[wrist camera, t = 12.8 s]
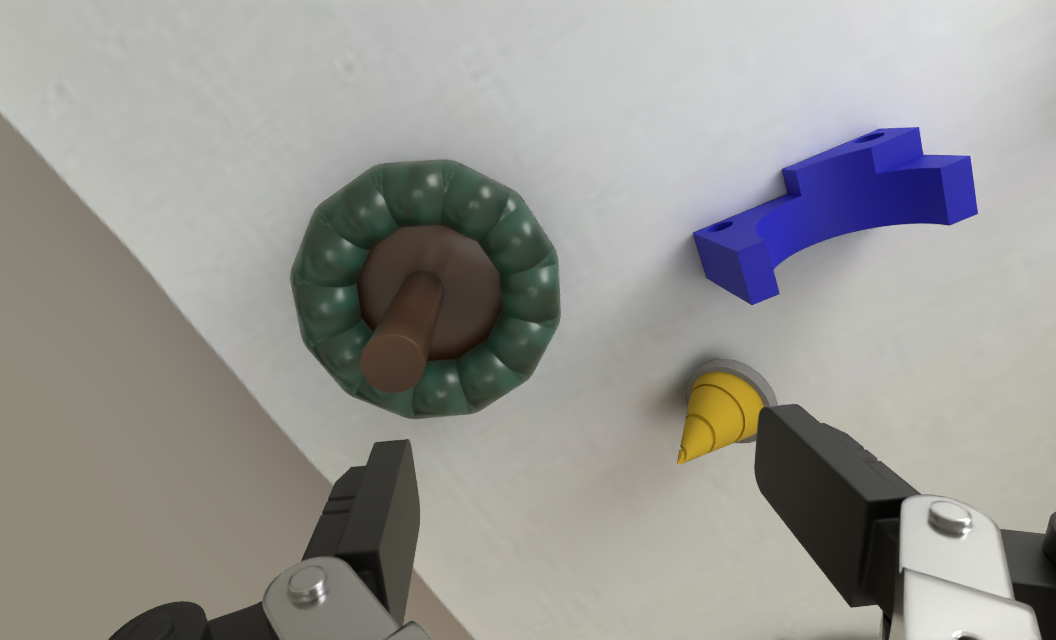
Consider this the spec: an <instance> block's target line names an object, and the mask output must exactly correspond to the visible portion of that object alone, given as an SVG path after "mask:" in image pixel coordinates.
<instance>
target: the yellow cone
mask: <svg viewBox="0 0 1056 640" xmlns="http://www.w3.org/2000/svg"><path fill="white" fill-rule="evenodd" d="M686 399H687V403H688V411H687V416H686V421H685V425H684V430H683V435H682V440H681V445H680V446H681V448H682V450H679V455H678V461H677V463H678V464H682V463H685V462H687V461H690V460H692V459H695V458H697V457H700V456H702V455H705V454H707V453H710V452H712V451H715V450H717V449H720V448H722V447H725V446H727V445H730V444H732V443H750V442H753V441H756V439H757V426H758V416H759V412H760V410H761V409H762V408H763V407H769V406H777V400H776V397H775V394H774V392H773V390H772V388H771V386H770V385H769V384H768V382H767V381H766V380H765V379H764V378H763V377H762V376H761V375H760V374H759V373H758V372H757V371H755V370H754V369H752V368H751V367H749V366H747V365H745V364H743V363H740V362H737V361H734V360H728V359H718V358H717V359H716V360H713V361H709V362H707V363H705V364H704V365H702V366H701V367H700V368H699V369H698V370H697V371H696V372H695V373H694V374H693V375H692V376H691V378H690V379H689V381H688V384H687V387H686Z"/></svg>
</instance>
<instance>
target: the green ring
mask: <svg viewBox="0 0 1056 640" xmlns="http://www.w3.org/2000/svg"><path fill="white" fill-rule="evenodd" d="M428 225H443V226H445V227H447V228H449V229H452V230H454V231H456V232H458V233H460V234H462V235H464V236H466V237H468V238H470V239H473V240H475V241H477V242H478V243H479V245H480V246H481V248H482V249H483V251H484V252H485V253H486V255H487V256H488V258H489V259H490V261H491V262H492V263H493V265H494V266H495V268H496V269H497V271H498V272H499V277H500V290H501V303H502V309H501V311H500V313H499V315H498V317H497V319H496V321H495V323H494V325H493V327H492V329H491V331H490V333H489V335H488V337H487V339H486V340H484V341H483V342H481V343H480V344H478V345H477V346H475V347H474V348H472V349H471V350H469V351H468V352H466V353H465V354H463V355H462V356H460V357H459V358H457V359H445V360H433V361H427V362H426V366H425V370H424V373H423V376H422V378H421V380H420V381H419V382H418V383H417V384H416V385H415V386H414V387H413V388H411V389H409V390H407V391H404V392H400V393H388V392H384V391H381V390H379V389H377V388H375V387H373V386H372V385H371V384H370V383H369V382H368V381H367V380H366V378H365V377H364V375H363V373H362V370H361V365H360V359H361V354H362V352H363V350H364V348H365V346H366V344H367V343H368V341H369V339H370V337H371V336H372V334H373V331H372V330H371V329H370V327H369V326H368V325H367V324H366V322H365V321H364V320H363V319H362V315H361V308H360V302H359V296H358V289H357V283H356V282H357V280H358V277H359V275H360V272H361V270H362V268H363V265H364V263H365V261H366V258H367V256H368V254H369V251H370V249H371V248H373V247H374V246H375V245H377V244H378V243H380V242H381V241H383V240H384V239H385V238H387V237H388V236H390V235H391V234H393V233H394V232H396V231H397V230H398V229H400V228H401V227H414V226H428ZM290 280H291V286H292V291H293V296H294V301H295V306H296V311H297V317H298V322H299V327H300V332H301V337H302V340H303V342H304V344H305V346H306V347H307V349H308V350H309V351H310V352H311V353H312V354H313V356H314V357H315V358H316V359H317V360H318V361H319V362H320V364H321V365H322V366H323V367H324V368H325V369H326V371H327V372H328V373H329V374H330V375H331V376H332V377H333V379H334V380H335V381H336V382H337V383H338V384H339V386H340V387H341V388H342V389H343V390H344V391H345V392H346V393H347V394H349V395H350V396H352V397H354V398H357V399H359V400H362V401H364V402H367V403H369V404H372V405H374V406H377V407H379V408H382V409H384V410H387V411H389V412H392V413H395V414H397V415H400V416H402V417H405V418H409V419H422V418H433V417H444V416H456V415H467V414H473V413H476V412H478V411H480V410H482V409H484V408H485V407H487V406H488V405H490V404H491V403H493V402H495V401H496V400H498V399H499V398H501V397H502V396H504V395H505V394H507V393H509V392H510V391H512V390H513V389H515V388H516V387H518V386H519V385H521V384H523V383H524V382H525V381H527V380H528V379H529V378H530V377H531V375H532V374H533V372H534V370H535V369H536V367H537V365H538V363H539V361H540V359H541V357H542V355H543V354H544V352H545V350H546V348H547V346H548V344H549V342H550V340H551V339H552V337H553V335H554V333H555V331H556V329H557V327H558V325H559V322H560V317H561V316H560V314H561V311H560V288H559V265H558V256H557V253H556V250H555V248H554V246H553V244H552V243H551V241H550V240H549V238H548V237H547V235H546V234H545V232H544V231H543V229H542V228H541V226H540V225H539V223H538V221H537V220H536V218H535V217H534V215H533V214H532V212H531V211H530V209H529V208H528V206H527V205H526V203H525V202H524V200H523V199H522V197H521V196H520V195H519V194H518V193H517V192H515V191H514V190H512V189H510V188H508V187H506V186H504V185H502V184H500V183H498V182H496V181H494V180H492V179H490V178H488V177H486V176H484V175H482V174H480V173H479V172H477V171H475V170H473V169H471V168H469V167H467V166H465V165H463V164H461V163H458V162H456V161H453V160H429V161H413V162H398V163H384V164H378V165H376V166H373V167H372V168H370V169H368V170H367V171H365V172H364V173H363V174H361V175H360V176H358V177H357V178H356V179H354V180H353V181H351V182H350V183H349V184H347V185H346V186H344V187H343V188H342V189H340V190H339V191H337V192H336V193H335V194H333V195H332V196H330V197H329V198H328V199H326V200H325V201H323V202H322V203H321V204H320V205H319V206H318V207H317V208H316V209H315V211H314V213H313V215H312V217H311V220H310V222H309V225H308V227H307V230H306V233H305V235H304V238H303V240H302V243H301V245H300V248H299V251H298V253H297V256H296V258H295V261H294V263H293V266H292V269H291V276H290Z"/></svg>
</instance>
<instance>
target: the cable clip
mask: <svg viewBox="0 0 1056 640" xmlns="http://www.w3.org/2000/svg"><path fill="white" fill-rule="evenodd" d="M782 172H783V176H784V180H785V184H786V188H787V192H788V194H786V195H784V196H781V197H779V198H776V199H774V200H772V201H769V202H767V203H764V204H762V205H759V206H757V207H755V208H752V209H750V210H747V211H745V212H742V213H740V214H738V215H735V216H733V217H730V218H728V219H725V220H723V221H721V222H718V223H716V224H713V225H711V226H708V227H706V228H704V229H701V230H699V231H696V232H694V233H693V235H694V239H695V242H696V245H697V248H698V252H699V255H700V258H701V262H702V265H703V268H704V271H705V275H706V278H707V279H709V280H710V281H712V282H714V283H716V284H717V285H719V286H721V287H722V288H724V289H726V290H727V291H729V292H731V293H732V294H734V295H736V296H737V297H739V298H741V299H742V300H744V301H746V302H747V303H749V304H751V305H754V304H756V303H758V302H761V301H763V300H766V299H768V298H771V297H773V296H776V295H778V294H779V290H778V286H777V282H776V278H775V275H774V271H773V270H774V269H775V267H776V266H777V265H779V264H780V263H781V262H782V261H783V260H785V259H786V258H788V257H789V256H791V255H793V254H794V253H796V252H798V251H800V250H802V249H804V248H807V247H809V246H811V245H814V244H816V243H819V242H821V241H824V240H827V239H830V238H833V237H837V236H840V235H844V234H847V233H851V232H856V231H860V230H865V229H870V228H876V227H882V226H890V225H899V224H917V223H927V224H942V225H952V224H954V223H957V222H959V221H961V220H964V219H966V218H969V217H971V216H974V215H976V214H978V211H977V203H976V196H975V188H974V181H973V173H972V166H971V158H970V156H953V155H923V150H922V144H921V137H920V131H919V127H913V128H888V129H878V130H876V131H873V132H871V133H869V134H866V135H864V136H861V137H859V138H857V139H854V140H852V141H849V142H847V143H845V144H842V145H840V146H837V147H835V148H832V149H830V150H828V151H825V152H823V153H820V154H818V155H816V156H813V157H811V158H808V159H806V160H804V161H801V162H799V163H796V164H794V165H791V166H789V167H787V168H784V169H782Z"/></svg>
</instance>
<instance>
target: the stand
mask: <svg viewBox="0 0 1056 640" xmlns="http://www.w3.org/2000/svg"><path fill="white" fill-rule="evenodd" d="M356 283H357V289H358V296H359V302H360V308H361V315H362V319H363V320H364V321H365V322H366V324H367V325H368V326H369V327H370V329H371V330H372V331H373V334H372V336H371V337H370V339H369V341H368V343H367V344H366V346H365V348H364V350H363V352H362V354H361V359H360V365H361V370H362V373H363V375H364V377H365V378H366V380H367V381H368V382H369V383H370V384H371V385H372V386H373V387H375V388H377V389H379V390H381V391H384V392H388V393H400V392H404V391H407V390H409V389H411V388H413V387H414V386H415V385H416V384H417V383H418V382H419V381H420V380H421V378H422V376H423V373H424V370H425V366H426V362H427V361H433V360H445V359H457V358H459V357H460V356H462V355H463V354H465V353H466V352H468V351H469V350H471V349H472V348H474V347H475V346H477V345H478V344H480V343H481V342H483V341H484V340H486V339H487V337H488V335H489V333H490V331H491V329H492V327H493V325H494V323H495V321H496V319H497V317H498V315H499V313H500V311H501V309H502V303H501V290H500V277H499V272H498V271H497V269H496V268H495V266H494V265H493V263H492V262H491V261H490V259H489V258H488V256H487V255H486V253H485V252H484V251H483V249H482V248H481V246H480V245H479V243H478V242H477V241H475V240H473V239H470V238H468V237H466V236H464V235H462V234H460V233H458V232H456V231H454V230H452V229H449V228H447V227H445V226H443V225H428V226H414V227H401V228H400V229H398V230H397V231H396V232H394V233H393V234H391V235H390V236H388V237H387V238H385V239H384V240H383V241H381V242H380V243H378V244H377V245H375V246H374V247H373V248H371V249H370V251H369V254H368V256H367V258H366V261H365V263H364V265H363V268H362V270H361V272H360V275H359V277H358V280H357V282H356Z"/></svg>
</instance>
